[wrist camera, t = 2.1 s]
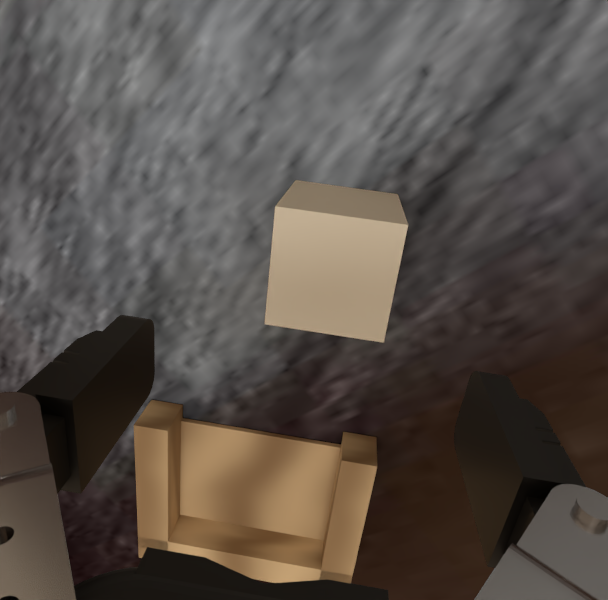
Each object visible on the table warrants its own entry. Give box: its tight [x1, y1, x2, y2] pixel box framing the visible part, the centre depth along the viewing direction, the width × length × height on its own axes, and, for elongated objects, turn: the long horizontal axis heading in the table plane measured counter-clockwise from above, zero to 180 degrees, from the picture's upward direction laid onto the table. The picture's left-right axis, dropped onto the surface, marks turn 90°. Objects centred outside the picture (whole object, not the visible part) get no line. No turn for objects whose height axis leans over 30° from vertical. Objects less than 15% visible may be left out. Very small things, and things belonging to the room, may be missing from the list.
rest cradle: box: [134, 400, 377, 583], centre depth 30 cm, size 14×11×2 cm
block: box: [265, 180, 408, 343], centre depth 22 cm, size 5×5×6 cm
